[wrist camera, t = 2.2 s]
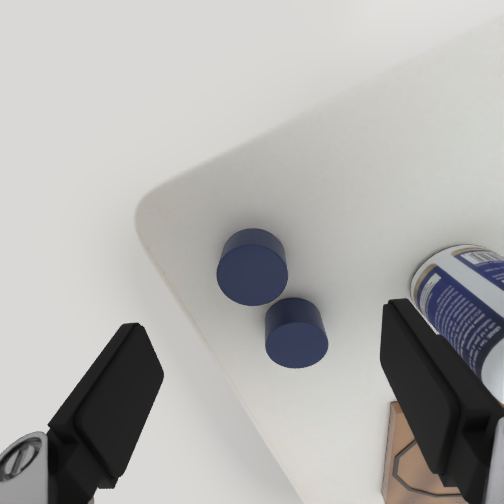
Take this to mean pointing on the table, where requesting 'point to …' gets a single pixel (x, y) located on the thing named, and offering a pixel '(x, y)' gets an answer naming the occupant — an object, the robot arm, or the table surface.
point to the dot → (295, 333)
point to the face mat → (411, 469)
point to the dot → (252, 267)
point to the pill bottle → (467, 307)
